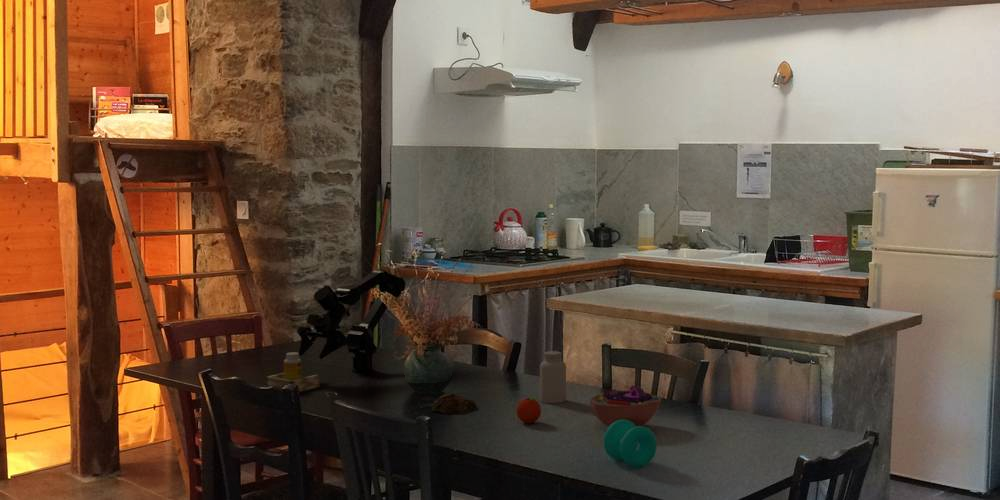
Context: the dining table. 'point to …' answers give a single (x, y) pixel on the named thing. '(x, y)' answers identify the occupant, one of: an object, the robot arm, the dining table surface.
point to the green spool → (630, 443)
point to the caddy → (293, 381)
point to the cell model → (625, 406)
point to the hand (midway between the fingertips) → (309, 356)
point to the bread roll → (453, 404)
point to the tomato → (528, 410)
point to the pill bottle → (552, 378)
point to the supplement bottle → (292, 366)
